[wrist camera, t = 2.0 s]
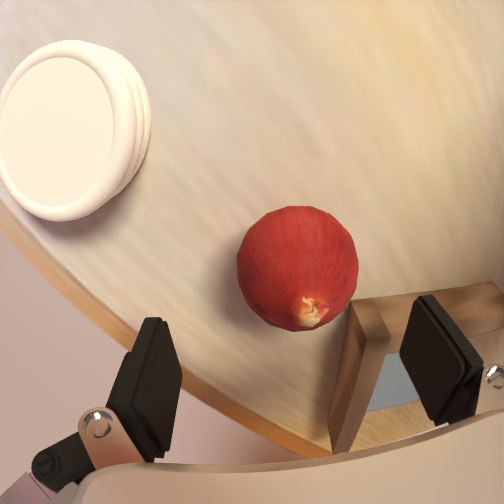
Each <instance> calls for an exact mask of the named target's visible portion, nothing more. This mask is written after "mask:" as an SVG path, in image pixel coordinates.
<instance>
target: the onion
mask: <svg viewBox="0 0 504 504" xmlns="http://www.w3.org/2000/svg"><path fill="white" fill-rule="evenodd" d="M237 269H238V282H239V286H240V288H241V291H242V293H243V295H244V297H245V300H246V302H247V304H248V305H249V307H250V308H251V309H252V310H253V311H254V312H255V313H256V314H257V315H259V316H260V317H261V318H262V319H263V320H264V321H265V322H267V323H268V324H269V325H272V326H275V327H279V328H282V329H285V330H288V331H292V332H297V331H308V330H314V329H316V328H318V327H321V326H323V325H325V324H327V323H329V322H330V321H332V320H333V319H334V318H335V317H336V316H337V315H339V314H340V313H341V312H342V311H343V310H344V309H345V307H346V306H347V304H348V302H349V301H350V299H351V297H352V296H353V294H354V292H355V289H356V285H357V277H358V269H359V268H358V258H357V254H356V250H355V246H354V242H353V240H352V237H351V235H350V234H349V232H348V231H347V230H346V229H345V228H344V227H343V226H342V225H341V224H340V223H339V222H338V221H337V220H336V219H335V218H334V217H333V216H332V215H331V214H329V213H326V212H324V211H321V210H319V209H316V208H314V207H311V206H287V207H284V208H282V209H279V210H276V211H273V212H270V213H267V214H266V215H265V216H263V217H262V218H261V219H260V220H259V221H258V222H256V223H255V224H254V225H253V226H252V227H251V228H250V229H249V230H248V232H247V233H246V235H245V237H244V240H243V242H242V244H241V247H240V249H239V252H238V254H237Z"/></svg>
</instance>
